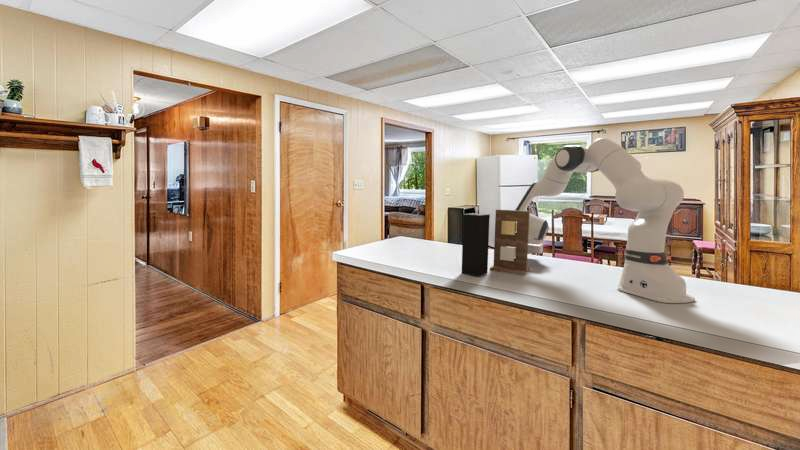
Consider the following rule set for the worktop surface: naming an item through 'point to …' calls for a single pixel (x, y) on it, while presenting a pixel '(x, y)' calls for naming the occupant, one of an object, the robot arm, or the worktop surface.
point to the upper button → (508, 227)
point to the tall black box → (475, 243)
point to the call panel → (512, 242)
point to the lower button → (507, 253)
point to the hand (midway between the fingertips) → (515, 248)
